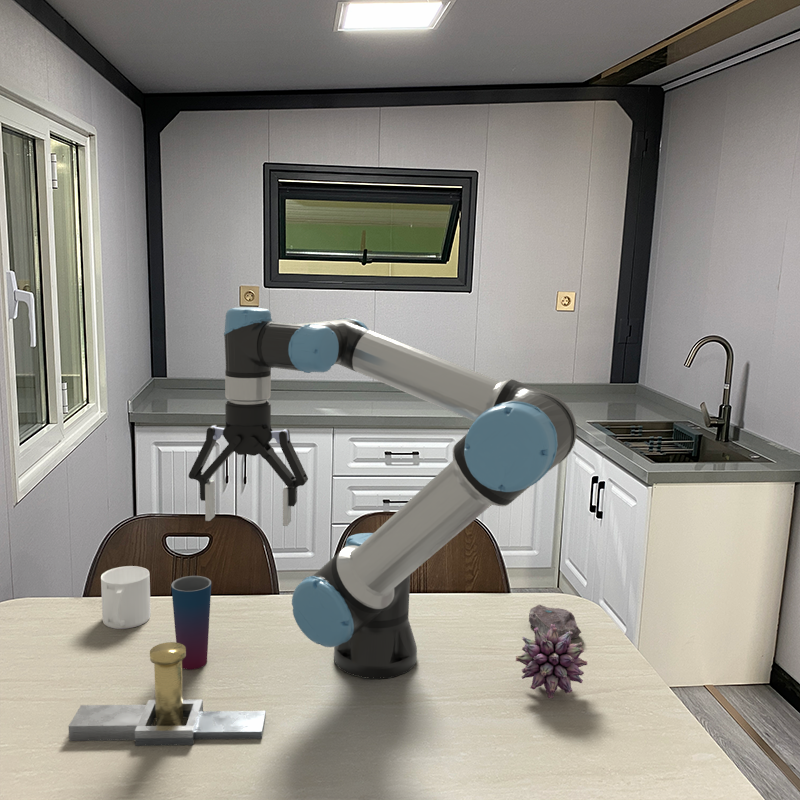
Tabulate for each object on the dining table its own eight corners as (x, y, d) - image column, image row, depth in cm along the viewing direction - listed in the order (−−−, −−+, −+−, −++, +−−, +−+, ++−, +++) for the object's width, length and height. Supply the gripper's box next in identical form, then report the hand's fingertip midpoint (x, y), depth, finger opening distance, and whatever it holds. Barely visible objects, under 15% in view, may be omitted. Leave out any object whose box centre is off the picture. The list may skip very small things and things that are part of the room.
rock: (555, 616, 165) (556, 596, 165) (586, 641, 155) (587, 619, 154) (520, 622, 163) (521, 601, 162) (549, 648, 152) (551, 626, 151)
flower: (562, 721, 127) (567, 652, 125) (501, 692, 135) (504, 627, 133) (597, 693, 136) (603, 628, 134) (538, 668, 144) (542, 606, 142)
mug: (115, 607, 163) (114, 564, 161) (157, 611, 162) (156, 567, 160) (86, 634, 151) (84, 588, 150) (132, 638, 150) (130, 591, 149)
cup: (201, 674, 138) (200, 593, 135) (165, 669, 139) (164, 588, 137) (218, 655, 145) (217, 578, 142) (183, 651, 146) (182, 574, 143)
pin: (192, 720, 124) (190, 643, 122) (179, 740, 119) (178, 660, 117) (160, 718, 125) (158, 640, 122) (146, 737, 120) (144, 657, 117)
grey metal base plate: (266, 712, 127) (266, 698, 127) (260, 744, 119) (260, 729, 118) (84, 714, 125) (83, 700, 125) (65, 746, 117) (65, 731, 116)
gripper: (325, 399, 136) (323, 518, 140) (184, 392, 139) (186, 509, 142) (316, 407, 129) (314, 533, 132) (167, 400, 131) (170, 523, 135)
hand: (248, 521), depth 137 cm, fingers open, 13 cm apart
